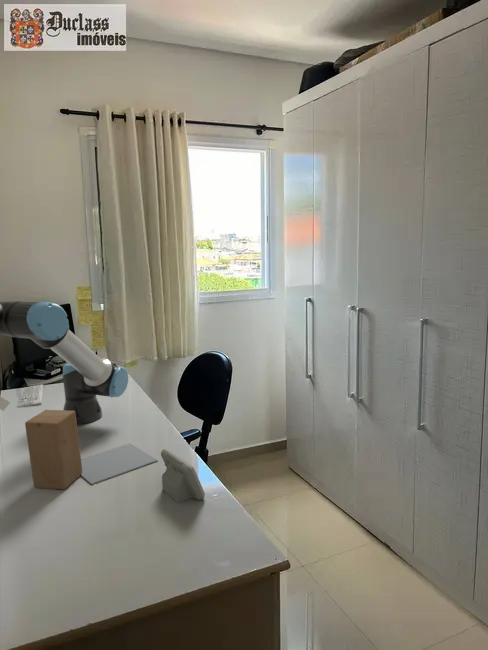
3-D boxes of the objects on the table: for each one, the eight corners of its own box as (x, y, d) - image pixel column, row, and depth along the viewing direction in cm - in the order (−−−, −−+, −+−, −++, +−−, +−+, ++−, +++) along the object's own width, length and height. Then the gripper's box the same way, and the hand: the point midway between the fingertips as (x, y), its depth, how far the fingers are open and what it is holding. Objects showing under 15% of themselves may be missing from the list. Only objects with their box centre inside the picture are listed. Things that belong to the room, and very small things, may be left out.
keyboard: (20, 390, 235) (19, 386, 235) (43, 387, 239) (42, 383, 238) (15, 409, 208) (15, 404, 208) (41, 406, 212) (41, 401, 212)
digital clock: (207, 501, 131) (205, 464, 129) (174, 509, 127) (172, 471, 125) (187, 475, 145) (186, 442, 143) (158, 482, 141) (156, 448, 139)
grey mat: (129, 444, 168) (129, 443, 168) (157, 461, 155) (157, 460, 155) (67, 464, 154) (66, 463, 154) (91, 484, 141) (91, 483, 141)
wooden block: (64, 490, 138) (56, 423, 134) (33, 488, 140) (24, 422, 136) (83, 472, 147) (75, 410, 143) (53, 471, 149) (45, 409, 145)
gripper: (-92, 364, 121) (-11, 411, 135) (-83, 374, 111) (3, 424, 125) (-70, 340, 124) (8, 389, 137) (-59, 347, 114) (23, 399, 128)
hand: (5, 405), depth 131 cm, fingers closed
